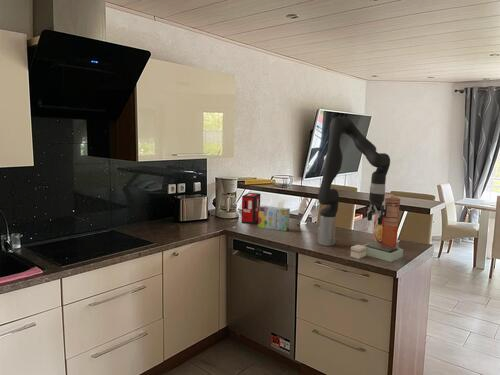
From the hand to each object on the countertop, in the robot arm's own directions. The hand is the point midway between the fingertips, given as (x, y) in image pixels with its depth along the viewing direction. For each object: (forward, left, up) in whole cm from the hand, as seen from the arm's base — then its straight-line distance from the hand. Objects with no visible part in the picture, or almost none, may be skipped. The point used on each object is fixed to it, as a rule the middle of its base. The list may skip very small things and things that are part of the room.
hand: (374, 222), depth 198 cm
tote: (+1, +8, -20) cm, 21 cm away
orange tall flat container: (-10, +32, -20) cm, 39 cm away
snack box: (-77, +5, -20) cm, 80 cm away
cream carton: (-6, -4, -20) cm, 21 cm away
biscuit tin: (+1, +8, -19) cm, 21 cm away
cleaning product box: (-102, +7, -20) cm, 104 cm away
